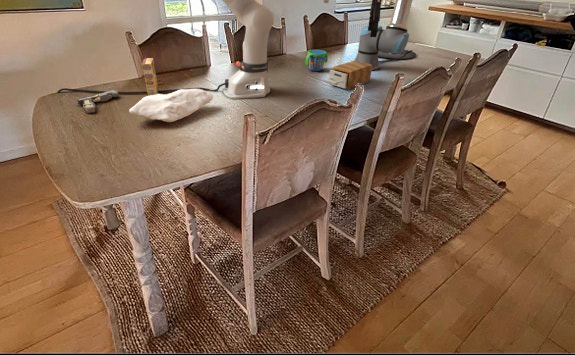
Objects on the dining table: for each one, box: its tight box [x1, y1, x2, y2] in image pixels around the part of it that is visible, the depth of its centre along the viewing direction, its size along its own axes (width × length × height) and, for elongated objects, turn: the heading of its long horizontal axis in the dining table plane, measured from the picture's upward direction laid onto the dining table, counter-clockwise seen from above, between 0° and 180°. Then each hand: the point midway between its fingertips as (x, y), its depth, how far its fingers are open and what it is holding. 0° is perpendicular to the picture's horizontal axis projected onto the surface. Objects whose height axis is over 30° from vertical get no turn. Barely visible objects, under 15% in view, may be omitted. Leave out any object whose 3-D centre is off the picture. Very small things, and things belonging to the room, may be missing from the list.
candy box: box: [141, 57, 160, 96], centre depth 163 cm, size 9×4×15 cm, turn 13°
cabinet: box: [332, 60, 373, 90], centre depth 190 cm, size 19×11×9 cm, turn 136°
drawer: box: [323, 69, 349, 89], centre depth 186 cm, size 24×10×7 cm, turn 136°
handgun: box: [76, 89, 120, 114], centre depth 155 cm, size 3×18×15 cm
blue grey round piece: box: [378, 49, 417, 60], centre depth 248 cm, size 35×35×9 cm
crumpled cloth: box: [129, 88, 214, 123], centre depth 147 cm, size 24×35×9 cm
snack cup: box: [304, 49, 328, 72], centre depth 207 cm, size 16×10×10 cm
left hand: (322, 1), depth 166 cm, fingers open, 8 cm apart
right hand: (371, 33), depth 173 cm, fingers open, 13 cm apart
